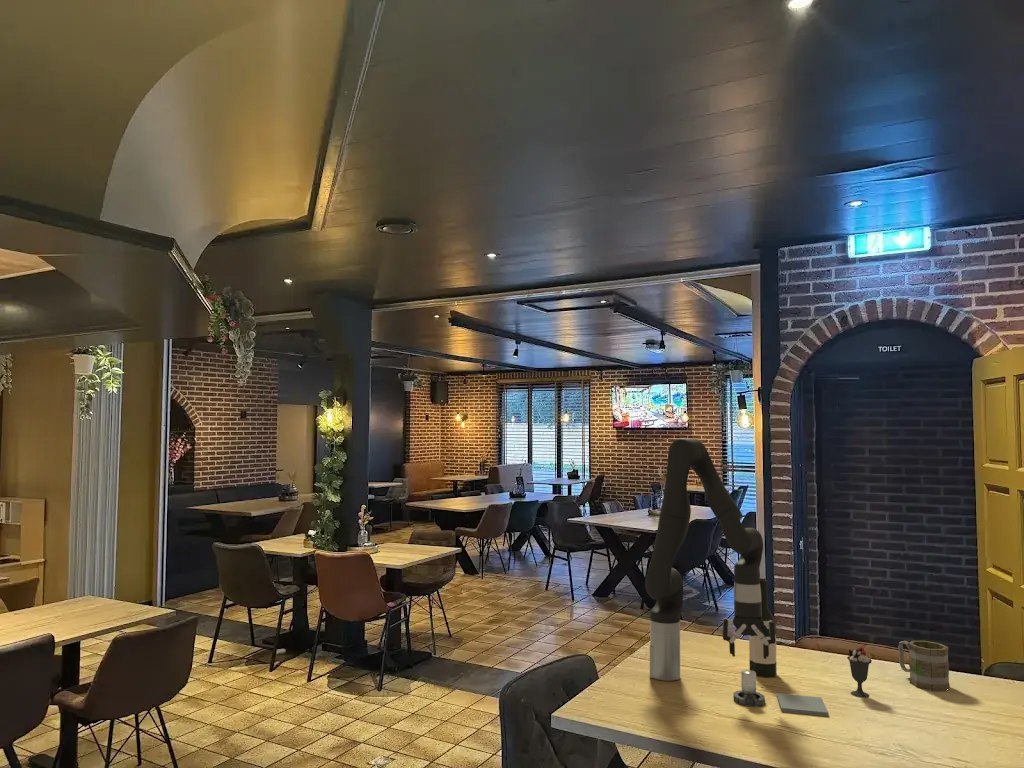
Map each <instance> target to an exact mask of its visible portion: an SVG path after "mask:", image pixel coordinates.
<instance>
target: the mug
mask: <svg viewBox="0 0 1024 768" xmlns="http://www.w3.org/2000/svg"><path fill="white" fill-rule="evenodd" d="M904 645H905V647H907V648H908V649H907V650H908V651H909V654H908V655H909V658H908V668H907V667H906V664H905V655H904V654H905V653H904V647H903V646H904ZM897 647H898V656H899V657H898V659H899V666H900V668H901V670H903V672H904V673H909V682H908V683H909V684H910V685H912V686H914V687H916V688H917V689H922V690H925V689H926V690H927V691H930V690H931V691H930V692H947V691H948V690H949V688H950V689H951V685H950V680H949V679H950V676H949V675H950V663H949V647H948V646H946V645H944V644H942V643H940V642H934V641H930V640H929V641H928V640H911V641H910V642H909V641H907V640H902V641H899V642H898V646H897ZM947 689H948V690H947ZM946 690H947V691H946Z"/></svg>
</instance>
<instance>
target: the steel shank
mask: <svg viewBox="0 0 1024 768" xmlns="http://www.w3.org/2000/svg"><path fill="white" fill-rule="evenodd" d="M740 672H741V675H740V676H741V677H740V678H741V681H740V682H741V691H742V698H745V699H752V700H753V699H756V692H757V676H756V672H754V671H751V670H750V669H743V670H741V671H740Z"/></svg>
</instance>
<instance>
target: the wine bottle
mask: <svg viewBox="0 0 1024 768" xmlns="http://www.w3.org/2000/svg"><path fill="white" fill-rule="evenodd" d="M760 588H761V605H762V620H763V621H769V620H772V621H773V623H774V631H775V643H774V644H773V643H772V644H770V645H769V656H768V657H766V659H764V658H763V644H764V643H763V641H762V640H761V639H760V638H759V636H758V635H755V636H750V635H748V639H749V640H748V642H749V643H748V644H749V646H748V649H749V651H748V652H749V654H748V655H749V659H748V660H749V670H751V671H754V672H756V677H757V676H758V677H759V678H766V679H769V678H776V676H777V670H778V669H777V625H776V624H777V622H776V621H777V620H776V619H775V617H774V615H773V613H772V612H771V610H770V608H769V606H768V605H769V604H768V603H769V602H768V580H766V577H764V576H763V577H762V576H760ZM760 631H761V632H762V633H763V635H764V636H765V637H766V639H769V638H770V632H769V629H767V627H766V626H765V625H764V626H763V627H762V629H761V630H760Z"/></svg>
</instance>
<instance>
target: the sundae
mask: <svg viewBox="0 0 1024 768" xmlns="http://www.w3.org/2000/svg"><path fill="white" fill-rule="evenodd" d="M865 646H868V644H867V643H864V644H863V645H861V647H858V648H856V649H854V650H851V649H848V653H849V655H848V656H846V659H847V660H848V662H849V666H850V667H849V668H850V672H851V673H850V674H851V678H852V679H853V680H855V681H856V682H857V689H856V690H852V691H850V694H851V695H852V696H854V697H858V698H869V697H870V694H869V693H868V692H865V691H864V690H863V683H864V682H866V681H867V679H868V675H869V669H870V668H869V666H870V664H872V658H869V656H868V655H867V651H866V650H864V648H865Z"/></svg>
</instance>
